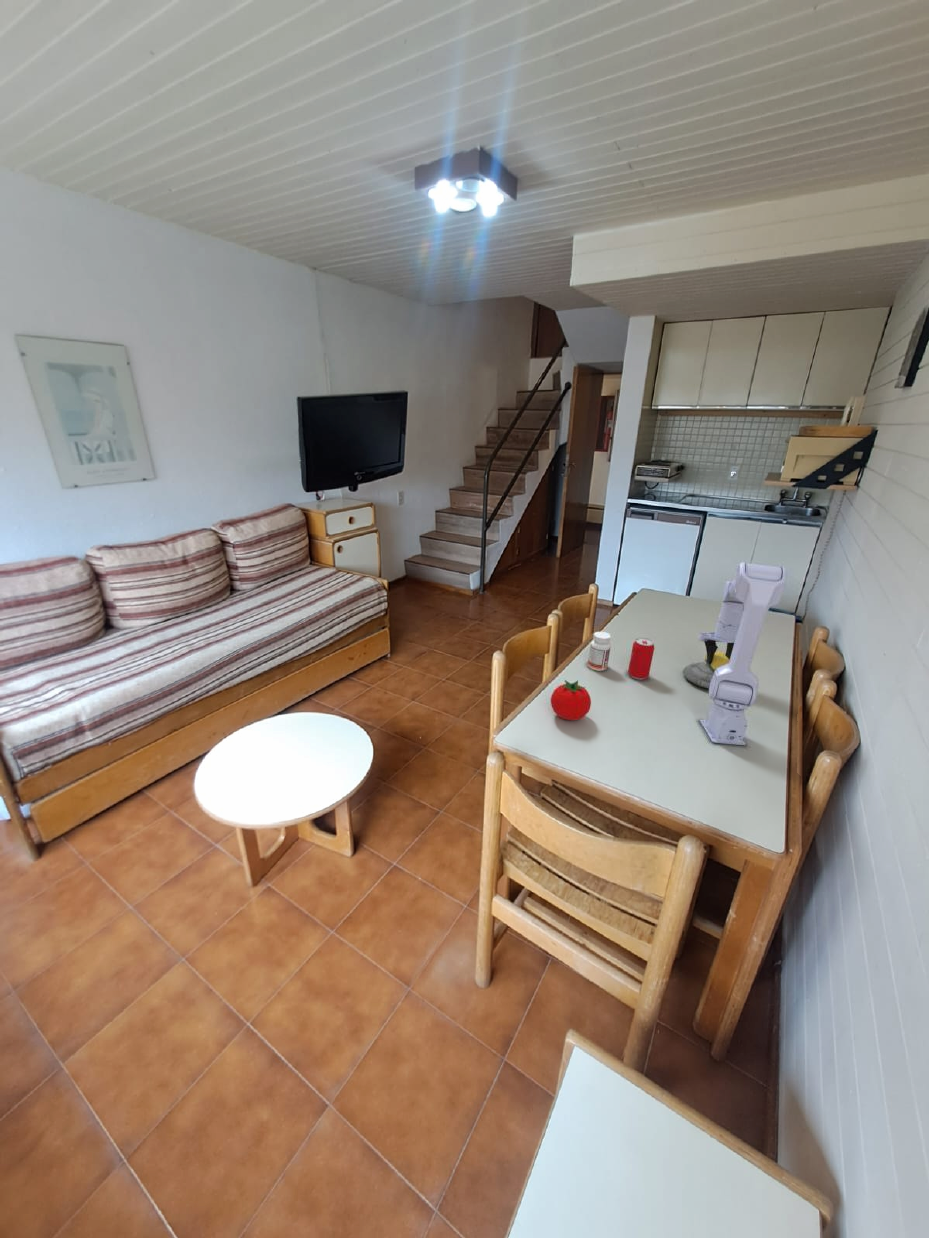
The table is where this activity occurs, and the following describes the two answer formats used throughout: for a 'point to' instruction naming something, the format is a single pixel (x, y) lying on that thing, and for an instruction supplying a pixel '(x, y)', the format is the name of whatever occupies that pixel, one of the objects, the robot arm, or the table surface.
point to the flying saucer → (699, 674)
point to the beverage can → (641, 658)
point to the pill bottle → (599, 651)
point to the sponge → (718, 660)
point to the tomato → (571, 701)
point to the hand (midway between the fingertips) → (717, 663)
